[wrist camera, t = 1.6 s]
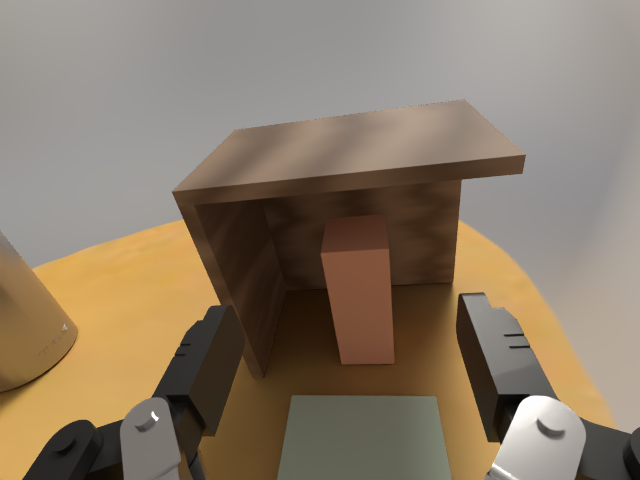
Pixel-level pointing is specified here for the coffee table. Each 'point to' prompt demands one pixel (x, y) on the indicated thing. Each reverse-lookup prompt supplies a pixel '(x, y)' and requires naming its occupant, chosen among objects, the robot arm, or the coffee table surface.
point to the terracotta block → (359, 287)
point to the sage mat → (363, 439)
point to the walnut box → (334, 201)
